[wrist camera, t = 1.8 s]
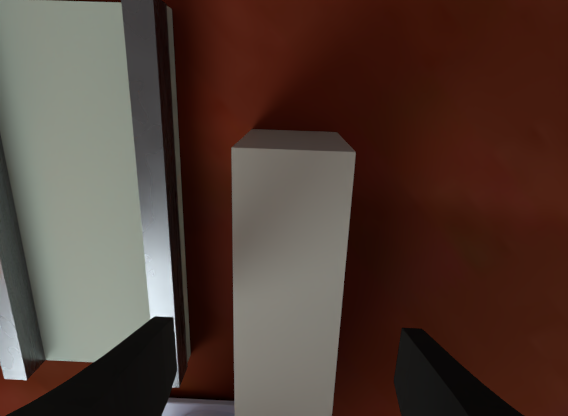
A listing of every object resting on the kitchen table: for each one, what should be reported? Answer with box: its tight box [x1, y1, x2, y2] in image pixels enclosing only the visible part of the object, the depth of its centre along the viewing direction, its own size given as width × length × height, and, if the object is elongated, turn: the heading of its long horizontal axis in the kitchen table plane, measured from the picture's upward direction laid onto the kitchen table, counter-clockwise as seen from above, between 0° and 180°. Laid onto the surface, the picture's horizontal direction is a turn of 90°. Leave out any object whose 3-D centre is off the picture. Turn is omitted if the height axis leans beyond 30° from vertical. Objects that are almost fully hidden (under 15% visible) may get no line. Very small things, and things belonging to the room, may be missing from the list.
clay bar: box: [232, 129, 356, 416], centre depth 17 cm, size 12×4×6 cm, turn 178°
